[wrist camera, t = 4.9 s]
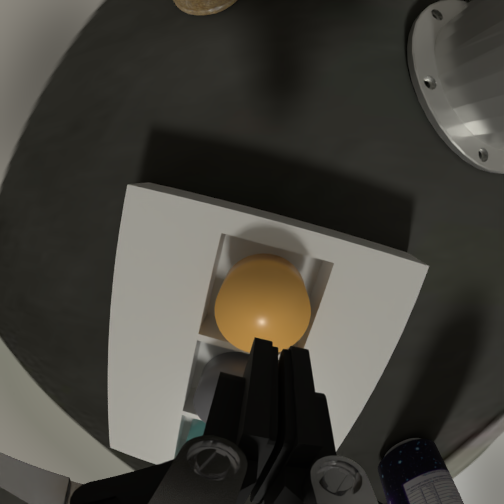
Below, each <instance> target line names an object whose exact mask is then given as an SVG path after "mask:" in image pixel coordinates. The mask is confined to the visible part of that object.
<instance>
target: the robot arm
mask: <svg viewBox="0 0 504 504" xmlns="http://www.w3.org/2000/svg"><path fill="white" fill-rule="evenodd" d="M407 57H408V67H409V71H410V76H411V81H412V84H413V87H414V89H415V92H416V95H417V98H418V100H419V102H420V104H421V106H422V108H423V110H424V112H425V114H426V116H427V118H428V120H429V121H430V123H431V124H432V126H433V127H434V129H435V130H436V132H437V133H438V135H439V136H440V137H441V138H442V139H443V141H444V142H445V143H446V144H447V145H448V146H449V148H450V149H451V150H452V151H454V152H455V153H456V154H457V155H458V156H459V157H461V158H462V159H463V160H464V161H466V162H467V163H469V164H471V165H472V166H474V167H476V168H478V169H481V170H483V171H486V172H489V173H499V174H504V0H471V1H470V2H465V1H461V0H440V1H438V2H435V3H433V4H431V5H429V6H428V7H427V8H426V9H425V10H423V11H422V12H421V13H420V14H419V16H418V17H417V18H416V19H415V21H414V22H413V25H412V27H411V30H410V32H409V37H408V44H407ZM425 84H426V85H425ZM426 86H427V87H426ZM250 493H251V496H250V501H251V502H254V503H256V504H382V503H380V502H379V501H377V499H376V496H375V494H374V492H373V489H372V487H371V484H370V482H369V479H368V477H367V475H366V473H365V471H364V470H363V468H362V467H361V466H360V465H358V464H357V463H356V462H354V461H352V460H351V459H349V458H345V457H342V456H336V449H335V444H334V438H333V432H332V426H331V421H330V415H329V409H328V404H327V399H326V396H325V394H324V393H318V392H315V387H314V380H313V373H312V367H311V361H310V354H309V350H308V349H304V348H300V347H295V346H290V347H289V349H288V350H287V349H283V350H282V352H281V354H280V357H279V360H278V347H274V346H273V342H272V341H269V340H264V339H260V338H256V337H255V338H254V341H253V344H252V347H251V351H250V354H249V357H248V361H247V364H246V367H245V371H244V374H243V377H240V376H236V375H232V374H228V373H224V372H220V375H219V378H218V382H217V385H216V389H215V393H214V396H213V400H212V404H211V407H210V411H209V415H208V418H207V422H206V426H205V429H204V433H203V436H198V437H194V438H192V439H190V440H188V441H187V442H186V443H185V444H184V445H183V446H182V448H181V449H180V451H179V453H178V454H177V456H176V458H175V459H173V460H170V461H167V462H164V463H161V464H157V465H154V466H151V467H148V468H144V469H141V470H137V471H134V472H130V473H126V474H122V475H118V476H115V477H110V478H106V479H102V480H97V481H93V482H89V483H86V484H80V483H76V482H73V481H70V478H69V477H66V476H63V475H59V474H56V473H53V472H50V471H47V470H44V469H41V468H38V467H36V466H33V465H30V464H27V463H25V462H22V461H20V460H17V459H15V458H12V457H10V456H8V455H5V454H3V453H0V504H244V503H245V502H246V500H247V498H248V496H249V495H250Z"/></svg>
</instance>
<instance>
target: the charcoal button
mask: <svg viewBox="0 0 504 504" xmlns="http://www.w3.org/2000/svg"><path fill="white" fill-rule="evenodd" d="M248 357H249V354H247V353H243V352H226V353H222V354H219V355H217V356H215V357H213V358H212V359H210V360H209V361H208V362H207V363H206V365H205V366H204V368H203V371H202V374H201V377H200V380H199V383H198V386H197V389H196V392H195V395H194V399H193V405H194V409H195V411H196V413H197V415H198V416H199V418H200V419H201V420H202V421H203V422H204V423H206V422H207V418H208V415H209V411H210V407H211V404H212V400H213V396H214V393H215V389H216V385H217V382H218V378H219V375H220V372H224V373H228V374H232V375H236V376H240V377H243V374H244V371H245V367H246V364H247V361H248Z"/></svg>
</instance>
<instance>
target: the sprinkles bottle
mask: <svg viewBox="0 0 504 504" xmlns="http://www.w3.org/2000/svg"><path fill="white" fill-rule="evenodd" d="M173 1H174V2H175V4H176V6H177V7H178V8H179V9H180V10H182V11H184V12H186V13H188V14H192V15H210V14H215V13H218V12H221V11H223V10H225V9H227V8H228V7H230V6H231V5H233V4H234V3H235V2H236V1H237V0H173Z"/></svg>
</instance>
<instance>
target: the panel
mask: <svg viewBox="0 0 504 504" xmlns="http://www.w3.org/2000/svg"><path fill="white" fill-rule="evenodd" d="M262 253H265V254H273V255H277V256H280V257H282V258H284V259H286V260H288V261H289V262H290V263H292V264H293V265H294V266H295V267H296V268H297V270H298V271H299V273H300V274H301V276H302V278H303V281H304V284H305V287H306V291H307V294H308V297H309V301H310V306H311V317H310V322H309V325H308V327H307V329H306V331H305V333H304V334H303V336H302V337H301V338H300V339H299V340H298V341H297V342H296V343H295V344H294V345H292V346H295V347H300V348H304V349H308V350H309V354H310V361H311V367H312V373H313V380H314V387H315V392H318V393H324V394H325V396H326V399H327V404H328V409H329V415H330V421H331V426H332V432H333V438H334V444H335V449H336V451H337V449H338V448H339V446H340V445H341V443H342V442H343V440H344V438H345V437H346V435H347V434H348V432H349V431H350V429H351V427H352V426H353V424H354V423H355V421H356V419H357V418H358V416H359V414H360V413H361V411H362V409H363V407H364V406H365V404H366V402H367V401H368V399H369V397H370V395H371V393H372V392H373V390H374V388H375V386H376V384H377V382H378V381H379V379H380V377H381V375H382V373H383V371H384V369H385V367H386V365H387V363H388V361H389V359H390V357H391V355H392V353H393V351H394V349H395V347H396V345H397V343H398V341H399V338H400V336H401V334H402V332H403V330H404V327H405V325H406V323H407V321H408V318H409V316H410V314H411V311H412V309H413V306H414V304H415V302H416V299H417V297H418V294H419V292H420V289H421V286H422V284H423V281H424V278H425V276H426V273H427V270H428V267H429V266H428V265H426V264H425V263H423V262H422V261H420V260H419V259H417V258H415V257H414V256H412V255H411V254H409V253H407V252H404V251H401V250H398V249H395V248H391V247H388V246H385V245H382V244H378V243H375V242H372V241H369V240H365V239H362V238H359V237H355V236H352V235H349V234H345V233H342V232H338V231H335V230H332V229H328V228H325V227H321V226H318V225H314V224H311V223H307V222H304V221H300V220H296V219H293V218H289V217H286V216H282V215H278V214H274V213H271V212H267V211H263V210H260V209H256V208H252V207H248V206H244V205H240V204H237V203H233V202H229V201H225V200H221V199H217V198H213V197H209V196H205V195H201V194H197V193H192V192H188V191H184V190H180V189H176V188H171V187H167V186H163V185H158V184H154V183H150V182H147V183H137V184H128V185H127V190H126V196H125V201H124V207H123V212H122V218H121V225H120V231H119V238H118V245H117V252H116V260H115V269H114V278H113V288H112V299H111V312H110V327H109V348H108V417H109V437H110V447H111V448H113V449H115V450H118V451H121V452H123V453H126V454H128V455H131V456H134V457H137V458H139V459H142V460H145V461H148V462H151V463H154V464H161V463H164V462H167V461H170V460H173V459H175V458H176V456H177V454H178V453H179V451H180V449H181V448H182V446H183V445H184V444H185V443H186V440H187V437H188V433H189V430H190V427H191V424H192V421H193V419H198V420H201V419H200V418H199V416H198V415H197V413H196V411H195V409H194V405H193V399H194V395H195V392H196V389H197V386H198V383H199V380H200V377H201V374H202V371H203V368H204V366H205V365H206V363H207V362H208V361H209V360H210V359H212V358H213V357H215V356H217V355H219V354H222V353H226V352H243V353H247V354H250V353H248V352H245V351H243V350H240V349H238V348H237V347H235V346H234V345H232V344H231V343H230V342H229V341H228V340H227V339H226V338H225V337H224V336H223V335H222V333H221V332H220V330H219V328H218V326H217V323H216V319H215V313H214V312H215V301H216V298H217V295H218V293H219V291H220V288H221V286H222V284H223V281H224V279H225V277H226V275H227V273H228V272H229V270H230V269H231V268H232V267H233V265H235V264H236V263H237V262H238V261H240V260H241V259H243V258H245V257H247V256H250V255H254V254H262ZM288 349H289V348H287V350H288ZM281 352H282V351H281ZM281 352H278V360H279V357H280V354H281Z"/></svg>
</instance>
